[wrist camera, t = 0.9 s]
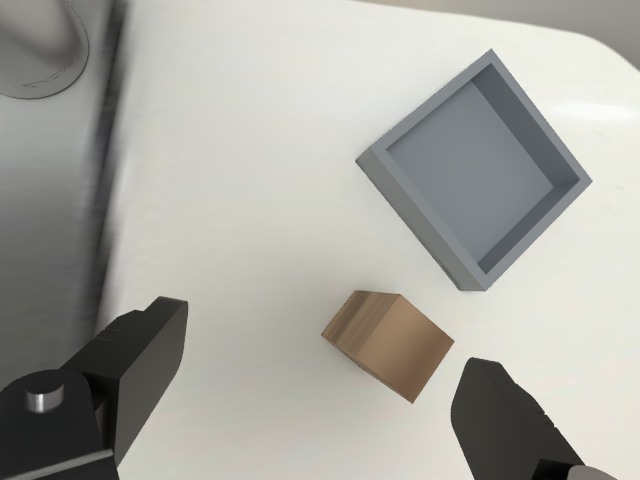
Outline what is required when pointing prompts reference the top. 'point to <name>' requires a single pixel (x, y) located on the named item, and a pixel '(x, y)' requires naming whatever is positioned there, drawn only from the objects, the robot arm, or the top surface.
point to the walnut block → (389, 340)
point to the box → (476, 173)
